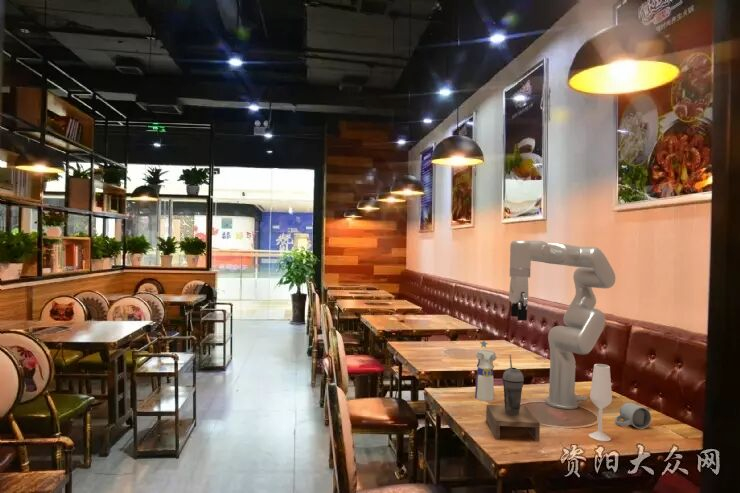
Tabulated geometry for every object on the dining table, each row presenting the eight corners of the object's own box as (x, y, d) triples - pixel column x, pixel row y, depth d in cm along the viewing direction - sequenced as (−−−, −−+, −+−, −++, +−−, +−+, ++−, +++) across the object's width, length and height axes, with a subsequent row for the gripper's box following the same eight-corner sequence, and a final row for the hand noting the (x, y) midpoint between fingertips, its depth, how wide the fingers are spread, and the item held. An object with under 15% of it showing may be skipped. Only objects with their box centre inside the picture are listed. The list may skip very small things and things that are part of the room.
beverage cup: (524, 417, 160) (526, 358, 160) (502, 416, 161) (503, 356, 161) (521, 410, 167) (523, 353, 167) (500, 408, 168) (501, 352, 168)
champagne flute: (584, 434, 162) (586, 364, 162) (598, 431, 165) (600, 362, 165) (600, 442, 156) (603, 368, 156) (615, 439, 159) (617, 367, 159)
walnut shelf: (525, 423, 171) (525, 406, 171) (539, 441, 155) (539, 422, 155) (486, 421, 172) (486, 404, 172) (495, 439, 156) (496, 420, 156)
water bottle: (497, 401, 195) (499, 340, 195) (476, 401, 195) (478, 339, 195) (492, 395, 203) (494, 336, 203) (472, 394, 203) (474, 336, 203)
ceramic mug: (635, 420, 177) (636, 399, 177) (651, 428, 169) (651, 407, 169) (609, 421, 176) (609, 400, 176) (624, 430, 168) (624, 408, 168)
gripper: (504, 271, 189) (503, 314, 189) (515, 274, 172) (514, 321, 172) (523, 272, 189) (522, 315, 189) (537, 274, 172) (535, 322, 172)
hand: (518, 318), depth 180 cm, fingers open, 9 cm apart
